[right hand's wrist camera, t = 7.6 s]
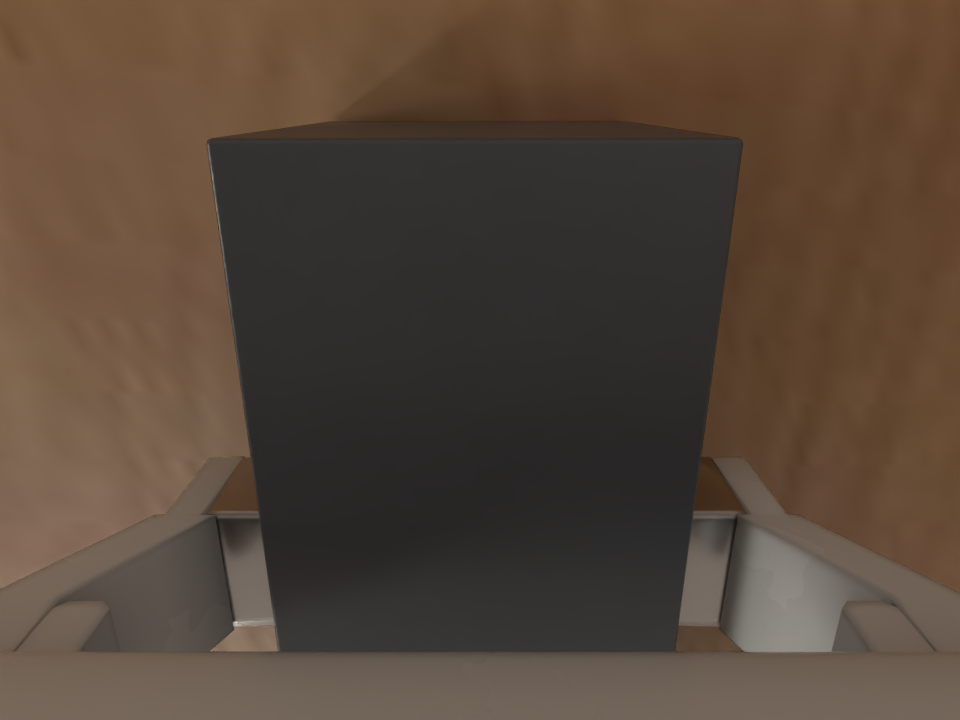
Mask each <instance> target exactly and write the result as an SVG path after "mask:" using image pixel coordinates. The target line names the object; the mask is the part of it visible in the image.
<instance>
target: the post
mask: <svg viewBox="0 0 960 720" xmlns="http://www.w3.org/2000/svg"><path fill="white" fill-rule="evenodd" d="M742 147H743V142H742V140H741V139H739V138H735V137H728V136H721V135H715V134H708V133H701V132H694V131H687V130H680V129H673V128H667V127H660V126H653V125H646V124H639V123H632V122H625V121H553V122H324V123H317V124H310V125H303V126H296V127H289V128H282V129H275V130H268V131H260V132H253V133H246V134H239V135H232V136H225V137H218V138H211V139H209V140H208V141H207V151H208V158H209V165H210V172H211V179H212V186H213V193H214V200H215V207H216V214H217V222H218V229H219V236H220V243H221V250H222V257H223V264H224V271H225V278H226V285H227V292H228V299H229V307H230V314H231V321H232V328H233V335H234V342H235V349H236V356H237V363H238V370H239V377H240V384H241V392H242V399H243V406H244V413H245V420H246V427H247V434H248V441H249V448H250V455H251V462H252V469H253V477H254V484H255V491H256V498H257V505H258V512H259V519H260V526H261V533H262V540H263V547H264V554H265V562H266V569H267V576H268V583H269V590H270V597H271V604H272V611H273V618H274V625H275V632H276V639H277V647H278V652H675V648H676V640H677V633H678V625H679V618H680V610H681V603H682V595H683V588H684V580H685V573H686V565H687V558H688V550H689V543H690V536H691V528H692V521H693V513H694V506H695V498H696V491H697V483H698V476H699V468H700V461H701V453H702V446H703V438H704V431H705V424H706V416H707V409H708V401H709V394H710V386H711V379H712V371H713V364H714V356H715V349H716V341H717V334H718V326H719V319H720V311H721V304H722V297H723V289H724V282H725V274H726V267H727V259H728V252H729V244H730V237H731V229H732V222H733V214H734V207H735V199H736V192H737V185H738V177H739V170H740V162H741V155H742Z"/></svg>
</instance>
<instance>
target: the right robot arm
mask: <svg viewBox="0 0 960 720" xmlns="http://www.w3.org/2000/svg"><path fill="white" fill-rule="evenodd" d="M240 626H275V625H274V618H273V611H272V604H271V597H270V590H269V583H268V576H267V569H266V562H265V554H264V547H263V540H262V533H261V526H260V519H259V512H258V505H257V498H256V491H255V484H254V477H253V469H252V462H251V457H247V458H245V457H214V458H209V459H208V460H207V461H206V463H205V464H204V465H203V467H202V468H201V469H200V470H199V472H198V473H197V474H196V476H195V477H194V478H193V480H192V481H191V482H190V483H189V485H188V486H187V487H186V489H185V490H184V491H183V493H182V494H181V495H180V496H179V498H178V499H177V500H176V502H175V503H174V504H173V506H172V507H171V508H170V510H169V511H168V512H167V513H166V515H153V516H151V517H149V518H147V519H145V520H143V521H141V522H139V523H137V524H135V525H133V526H130V527H128V528H126V529H124V530H122V531H120V532H118V533H116V534H114V535H112V536H110V537H108V538H106V539H103V540H101V541H99V542H97V543H95V544H93V545H91V546H89V547H87V548H85V549H83V550H81V551H78V552H76V553H74V554H72V555H70V556H68V557H66V558H64V559H62V560H60V561H58V562H56V563H53V564H51V565H49V566H47V567H45V568H43V569H41V570H39V571H37V572H35V573H33V574H31V575H28V576H26V577H24V578H22V579H20V580H18V581H16V582H14V583H12V584H10V585H8V586H6V587H4V588H1V589H0V720H960V593H958V592H956V591H954V590H952V589H950V588H948V587H945V586H943V585H941V584H939V583H937V582H935V581H933V580H931V579H929V578H927V577H925V576H923V575H921V574H919V573H917V572H915V571H913V570H911V569H908V568H906V567H904V566H902V565H900V564H898V563H896V562H894V561H892V560H890V559H888V558H886V557H884V556H882V555H880V554H878V553H876V552H874V551H871V550H869V549H867V548H865V547H863V546H861V545H859V544H857V543H855V542H853V541H851V540H849V539H847V538H845V537H843V536H841V535H839V534H837V533H835V532H832V531H830V530H828V529H826V528H824V527H822V526H820V525H818V524H816V523H814V522H812V521H810V520H808V519H806V518H804V517H802V516H800V515H787V513H786V512H785V511H784V509H783V508H782V507H781V505H780V504H779V503H778V502H777V500H776V499H775V498H774V496H773V495H772V494H771V492H770V491H769V490H768V488H767V487H766V486H765V484H764V483H763V482H762V480H761V479H760V478H759V476H758V475H757V474H756V472H755V471H754V470H753V468H752V467H751V466H750V465H749V463H748V462H747V461H746V459H744V458H742V457H739V456H738V457H715V458H710V457H701V461H700V468H699V476H698V483H697V491H696V498H695V506H694V513H693V521H692V528H691V536H690V543H689V550H688V558H687V565H686V573H685V580H684V588H683V595H682V603H681V610H680V618H679V625H678V626H713V627H720V628H719V629H720V630H721V631H722V632H723V633H724V634H725V635H726V636H727V637H729V638H730V639H731V640H732V641H733V642H734V643H735V644H736V645H738V646H739V647H740V648H741V649H742V650H743V651H744V652H209V651H210V650H212V649H213V648H214V647H215V646H216V645H217V644H218V643H219V642H221V641H222V640H223V639H224V638H225V637H226V636H227V635H229V634H230V633H231V632H232V631H233V630H234V627H240Z"/></svg>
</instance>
